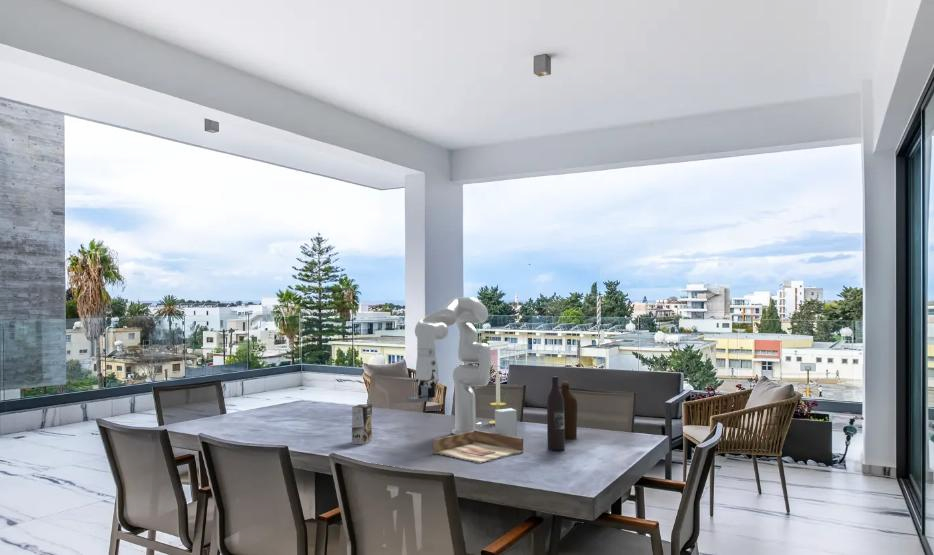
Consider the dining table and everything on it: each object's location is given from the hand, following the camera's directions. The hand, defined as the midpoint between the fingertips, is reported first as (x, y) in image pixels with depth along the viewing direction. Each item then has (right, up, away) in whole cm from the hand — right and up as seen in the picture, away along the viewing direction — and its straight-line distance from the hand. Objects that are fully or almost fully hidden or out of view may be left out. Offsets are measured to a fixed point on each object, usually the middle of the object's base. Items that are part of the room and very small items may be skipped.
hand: (426, 396), depth 263 cm
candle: (+33, -25, +61) cm, 74 cm away
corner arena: (+21, -22, -5) cm, 31 cm away
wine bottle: (+54, -22, 0) cm, 58 cm away
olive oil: (+62, -23, +24) cm, 70 cm away
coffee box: (-29, -24, +17) cm, 41 cm away
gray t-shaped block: (-3, -2, -2) cm, 4 cm away
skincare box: (+34, -23, +11) cm, 42 cm away
